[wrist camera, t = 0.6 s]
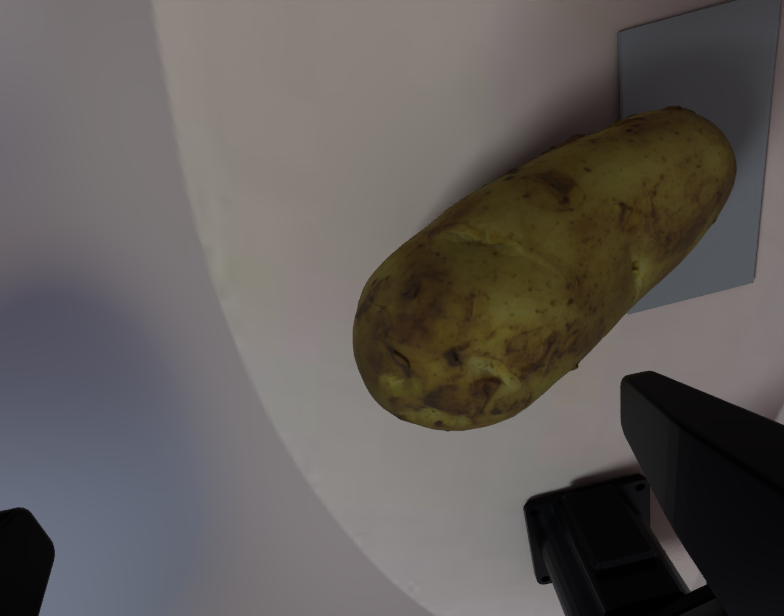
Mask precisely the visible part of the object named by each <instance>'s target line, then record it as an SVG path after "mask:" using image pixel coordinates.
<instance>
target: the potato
mask: <svg viewBox="0 0 784 616" xmlns="http://www.w3.org/2000/svg"><path fill="white" fill-rule="evenodd" d="M736 173H737V164H736V158H735V155H734V151H733V149H732V147H731V145H730V143H729V141H728V140H727V138H726V136H725V134H724V133H723V132H722V131H721V130H720V129H719V128H718V127H717V126H716V125H715V124H714V123H713V122H711V121H710V120H708V119H706V118H705V117H702V116H700V115H698V114H696V113H695V112H694V111H692V110H690V109H687V108H682V107H681V106H667V107H665V108H663V109H659V110H651V111H647V112H643V113H639V114H632V115H630V116H628V117H626V118H625V119H623V120H621V119H617V120H616V122H615V123H614V124H613V125H611V126H609V127H608V128H607V129H604V130H602V131H600V132H598V133H595V134H592V135H589V136H587V135H585V134H583V135H579V134H577V135H575V136H572V137H570V138H569V139H567V140H565V141H564V142H562V143H560V144H557V145H555V146H553V147H551V148H550V149H549V150H547V151H545V152H543V153H542V154H541V156H539V157H537V158H535V159H533V160H531V161H529V162H527V163H525V164H523V165H522V166H520V167H518V168H515V169H512V170H510V171H509V172H508V173H507V174H505V175H504V176H502V177H500V178H498V179H496V180H494V181H493V182H491V183H489V184H486V185H484V186H483V187H481V188H480V189H478V190H477V191H475V192H473V193H472V194H470V195H468V196H467V197H465V198H463V199H462V200H460V201H459V202H457V203H456V204H454V205H453V206H451V207H450V208H448V209H447V210H446V211H445V212H444V213H443V214H441V215H440V216H439V217H438V218H437V219H436V220H435V221H433V222H432V223H431V224H430V225H429V226H427V227H426V228H424V229H423V230H422V231H420V232H419V233H418V234H416V235H415V236H414V237H412V238H411V239H409V240H408V241H407V242H405V243H404V244H403V245H402V246H401V247H399V248H398V249H397V250H396V251H395V252H394V253H392V254H391V255H390V256H389V257H388V258H387V259H386V260H385V261H384V262H383V263H382V264H381V265H380V266H379V267H378V268H377V270H376V271H375V272H374V273H373V274H372V275H371V277H370V278H369V280H368V281H367V283H366V285H365V287H364V289H363V291H362V294H361V297H360V300H359V302H358V307H357V312H356V315H355V319H354V326H353V351H354V357H355V361H356V364H357V367H358V370H359V372H360V374H361V377H362V379H363V381H364V384H365V386H366V387H367V389H368V391H369V393H370V394H371V396H372V397H373V398H374V399H375V401H376V402H377V403H378V404H379V405H380V406H381V407H382V408H384V409H385V410H387V411H388V412H390V413H391V414H393V415H394V416H396V417H397V418H399V419H400V420H403V421H407V422H410V423H414V424H417V425H420V426H423V427H427V428H430V429H435V430H444V431H464V430H470V429H475V428H481V427H486V426H490V425H493V424H496V423H499V422H501V421H504V420H506V419H509V418H511V417H514V416H515V415H517V414H518V413H519V412H521V411H522V410H524V409H526V408H527V407H528V406H529V405H531V404H532V403H533V402H534V401H535V400H537V399H538V398H539V397H540V396H541V395H543V394H544V393H545V392H546V391H547V390H548V389H549V388H550V387H551V386H552V385H553V384H554V383H555V382H557V381H558V380H559V379H560V378H562V377H563V376H564V375H565V374H567V373H568V372H569V371H572V370H575V369H577V368H578V364H579V362H580V361H581V360H582V359H583V358H584V357H585V356H586V355H587V354H588V353H589V352H590V351H591V350H592V349H593V348H594V347H595V346H596V345H597V344H598V343H599V342H600V340H601V339H602V338H603V337H604V336H606V335H607V334H608V333H609V332H610V330H611V329H612V328H613V327H614V326H615V325H616V324H617V323H618V321H619V320H620V319H621V318H622V317H623V316H624V315H625V314H626V313H627V312H628V311H629V310H630V309H631V308H632V307H633V306H634V305H635V304H636V303H637V302H638V301H639V300H640V299H642V298H643V297H644V296H645V295H646V294H647V293H648V292H649V291H650V290H651V289H652V288H654V287H655V286H656V285H657V284H659V283H660V282H661V281H662V280H663V279H664V278H665V277H666V276H667V275H668V274H669V273H671V272H672V271H673V270H674V269H675V268H676V267H677V266H678V265H679V264H680V263H681V262H682V261H683V260H684V259H685V257H686V256H687V255H688V254H689V253H690V252H691V251H692V250H693V249H694V247H695V246H696V245H697V244H698V243H699V241H700V240H701V239H702V237H703V236H704V235H705V233H706V232H707V231H708V229H709V228H710V227H711V226H712V225H713V224H714V223H715V222H716V220H717V218H718V216H719V214H720V212H721V211H722V209H723V207H724V205H725V204H726V202H727V200H728V198H729V196H730V194H731V191H732V189H733V186H734V183H735V178H736Z"/></svg>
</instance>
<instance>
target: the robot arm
mask: <svg viewBox="0 0 784 616" xmlns="http://www.w3.org/2000/svg"><path fill="white" fill-rule="evenodd" d="M620 393H621V426H622V429H623V432H624V435H625V437H626V439H627V441H628V443H629V445H630V447H631V449H632V451H633V453H634V455H635V457H636V459H637V461H638V463H639V465H640V466H641V468H642V470H643V472H644V474H645V476H646V477H645V476H644V475H641V474H637V475H633V476H628V477H624V478H620V479H616V480H612V481H608V482H604V483H600V484H596V485H592V486H588V487H584V488H580V489H576V490H572V491H567V492H563V493H559V494H555V495H551V496H547V497H543V498H539V499H535V500H531V501H529V502H527V503H526V504H525V505H524V508H523V510H524V516H525V522H526V527H527V533H528V539H529V545H530V550H531V556H532V562H533V568H534V573H535V577H536V579H537V582H538V583H539V584H543V585H544V584H549V583H552V584H553V586H554V589H555V591H556V594H557V596H558V599H559V601H560V604H561V606H562V609H563V611H564V614H565V616H784V425H782V424H780V423H778V422H775V421H773V420H770V419H768V418H766V417H763V416H761V415H758V414H756V413H753V412H751V411H749V410H746V409H744V408H741V407H739V406H736V405H734V404H732V403H729V402H727V401H724V400H722V399H719V398H717V397H715V396H712V395H710V394H707V393H705V392H702V391H700V390H698V389H695V388H693V387H690V386H688V385H685V384H683V383H681V382H678V381H676V380H673V379H671V378H668V377H666V376H664V375H661V374H659V373H656V372H653V371H644V372H640V373H635V374H630V375H626V376H625V377H624V378H623V379H622V381H621V386H620ZM646 478H647V479H646ZM650 486H651V488H652V490H653V492H654V494H655V496H656V498H657V500H658V502H659V504H660V506H661V508H662V510H663V512H664V514H665V515H666V517H667V519H668V521H669V523H670V525H671V526H672V528H673V530H674V532H675V533H676V535H677V537H678V538H679V540H680V541H681V543H682V545H683V546H684V548H685V549H686V551H687V552H688V554H689V555H690V557H691V558H692V560H693V562H694V563H695V565H696V566H697V568H698V569H699V571H700V572H701V574H702V575H703V577H704V578H705V580H706V581H707V582H706V583H707V584H706V585H704V586H703V587H700V588H698V589H696V590H694V591H692V592H691V591H690V590H689V588H688V587H687V585H686V583H685V582H684V580H683V579H682V577H681V576H680V574H679V572H678V571H677V569H676V568H675V566H674V565H673V563H672V561H671V560H670V558H669V557H668V555H667V554H666V552H665V550H664V549H663V547H662V546H661V544H660V543H659V541H658V540H657V538H656V536H655V535H654V533H653V532H652V530H651V529H650ZM54 556H55V549H54V545H53V542H52V541H51V539H50V538H49V537H48V535H47V534H46V532H45V531H44V530H43V528H42V527H41V525H40V524H39V523H38V521H37V520H36V519H35V517H34V516H33V515H32V513H31V512H30V511H29V510H27V509H25V508H20V507H17V508H12V509H8V510H3V511H0V616H39V612H40V608H41V605H42V601H43V597H44V594H45V591H46V587H47V584H48V580H49V576H50V573H51V569H52V566H53V562H54Z"/></svg>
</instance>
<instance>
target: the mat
mask: <svg viewBox="0 0 784 616" xmlns="http://www.w3.org/2000/svg"><path fill="white" fill-rule="evenodd" d="M780 6H781V0H734V1H730V2H726V3H723V4H719V5H715V6H712V7H708V8H704V9H700V10H697V11H693V12H689V13H686V14H682V15H678V16H674V17H671V18H667V19H663V20H660V21H656V22H652V23H648V24H645V25H641V26H637V27H634V28H630V29H626V30H623V31H619V32H618V55H619V88H620V119H621V120H623V119H625V118H626V117H628V116H630V115H632V114H639V113H643V112H647V111H651V110H659V109H663V108H665V107H667V106H681V107H682V108H687V109H690V110H692V111H694V112H695V113H696V114H698V115H700V116H702V117H705V118H706V119H708V120H710V121H711V122H713V123H714V124H715V125H716V126H717V127H718V128H719V129H720V130H721V131H722V132H723V133H724V134H725V136H726V138H727V140H728V141H729V143H730V145H731V147H732V149H733V151H734V155H735V158H736V164H737V173H736V178H735V183H734V186H733V189H732V191H731V194H730V196H729V198H728V200H727V202H726V204H725V205H724V207H723V209H722V211H721V212H720V214H719V216H718V218H717V220H716V222H715V223H714V224H713V225H712V226H711V227H710V228H709V229H708V231H707V232H706V233H705V235H704V236H703V237H702V239H701V240H700V241H699V243H698V244H697V245H696V246H695V247H694V249H693V250H692V251H691V252H690V253H689V254H688V255H687V256H686V257H685V259H684V260H683V261H682V262H681V263H680V264H679V265H678V266H677V267H676V268H675V269H674V270H673V271H672V272H671V273H669V274H668V275H667V276H666V277H665V278H664V279H663V280H662V281H661V282H660V283H659V284H657V285H656V286H655V287H654V288H652V289H651V290H650V291H649V292H648V293H647V294H646V295H645V296H644V297H643V298H642V299H640V300H639V301H638V302H637V303H636V304H635V305H634V306H633V307H632V308H631V309H630V310H629V311H628V312H627V313H628V314H632V313H636V312H640V311H644V310H647V309H651V308H655V307H659V306H663V305H667V304H671V303H675V302H679V301H683V300H687V299H691V298H695V297H699V296H703V295H706V294H710V293H714V292H718V291H722V290H726V289H730V288H734V287H738V286H742V285H746V284H750V283H753V281H754V271H755V261H756V250H757V240H758V230H759V220H760V210H761V199H762V189H763V179H764V169H765V159H766V148H767V138H768V128H769V118H770V108H771V97H772V87H773V77H774V67H775V57H776V47H777V36H778V26H779V16H780Z"/></svg>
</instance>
